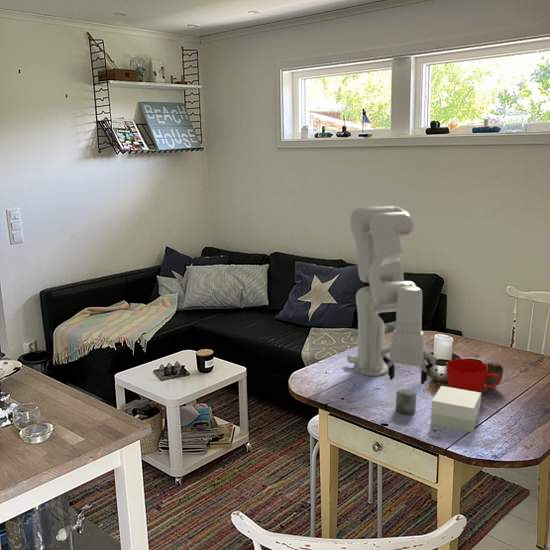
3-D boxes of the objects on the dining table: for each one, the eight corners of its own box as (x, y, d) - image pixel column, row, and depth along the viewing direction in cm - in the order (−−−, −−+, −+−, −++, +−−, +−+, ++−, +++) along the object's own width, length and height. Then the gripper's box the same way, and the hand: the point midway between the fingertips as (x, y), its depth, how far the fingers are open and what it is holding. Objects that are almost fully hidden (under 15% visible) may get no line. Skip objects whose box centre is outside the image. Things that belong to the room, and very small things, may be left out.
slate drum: (393, 413, 186) (394, 395, 185) (398, 405, 192) (399, 387, 190) (412, 416, 184) (413, 398, 183) (417, 408, 189) (418, 390, 188)
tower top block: (431, 413, 178) (431, 400, 177) (440, 397, 188) (441, 385, 188) (473, 421, 173) (473, 408, 172) (480, 404, 183) (481, 392, 182)
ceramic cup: (493, 408, 188) (495, 378, 186) (440, 397, 197) (441, 368, 195) (502, 393, 199) (504, 365, 197) (451, 383, 208) (452, 356, 206)
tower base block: (430, 425, 179) (431, 413, 178) (439, 409, 189) (439, 397, 188) (472, 433, 174) (473, 420, 173) (478, 416, 184) (479, 404, 183)
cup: (503, 394, 199) (505, 371, 197) (480, 392, 200) (481, 370, 198) (500, 385, 206) (501, 363, 204) (477, 383, 207) (479, 361, 205)
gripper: (377, 327, 182) (376, 380, 185) (435, 333, 174) (433, 388, 178) (384, 321, 189) (383, 372, 192) (440, 326, 181) (438, 380, 184)
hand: (407, 380), depth 185 cm, fingers open, 9 cm apart
